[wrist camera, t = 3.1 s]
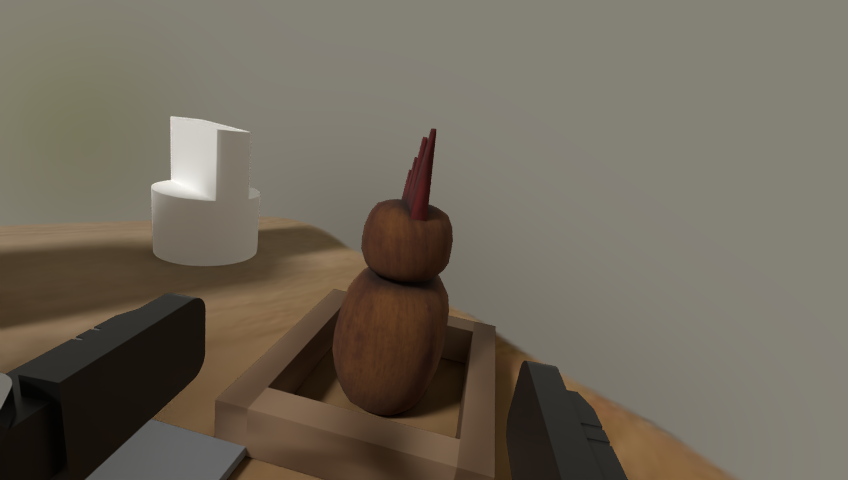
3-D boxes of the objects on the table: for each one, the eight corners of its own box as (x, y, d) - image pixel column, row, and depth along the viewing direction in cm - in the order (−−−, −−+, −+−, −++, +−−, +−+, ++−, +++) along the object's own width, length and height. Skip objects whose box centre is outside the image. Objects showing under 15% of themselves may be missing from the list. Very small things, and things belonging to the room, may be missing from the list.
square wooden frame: (214, 446, 18) (215, 399, 17) (330, 319, 30) (333, 288, 29) (481, 525, 16) (494, 477, 15) (487, 357, 29) (495, 326, 28)
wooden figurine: (420, 448, 20) (482, 137, 15) (310, 417, 20) (342, 113, 16) (440, 371, 26) (488, 137, 22) (356, 350, 27) (387, 120, 23)
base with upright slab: (275, 256, 40) (283, 135, 37) (179, 273, 33) (179, 125, 30) (228, 231, 45) (231, 122, 42) (136, 241, 38) (131, 111, 35)
